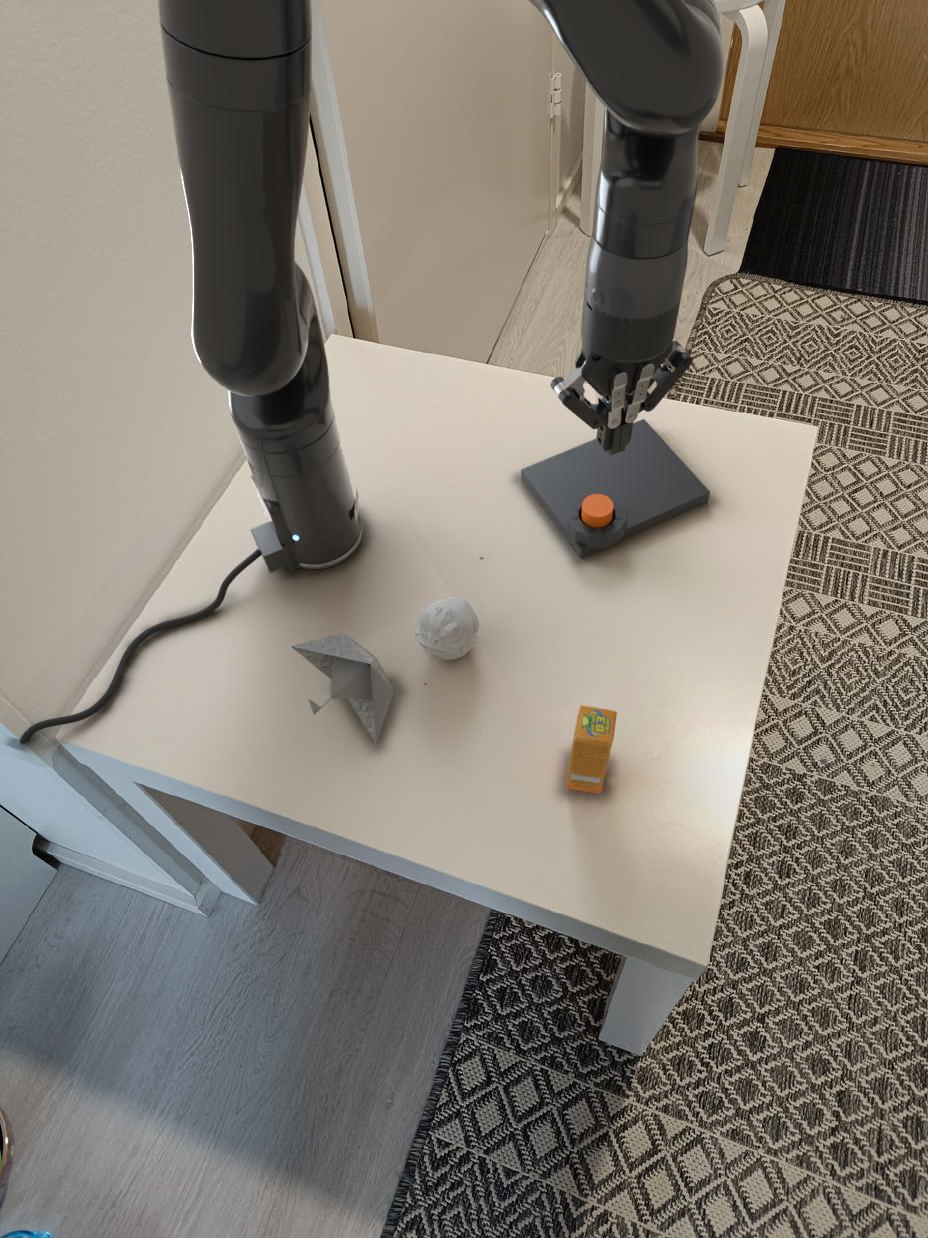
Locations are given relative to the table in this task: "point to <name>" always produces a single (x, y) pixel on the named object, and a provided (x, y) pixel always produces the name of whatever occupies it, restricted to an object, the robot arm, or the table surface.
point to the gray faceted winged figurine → (351, 678)
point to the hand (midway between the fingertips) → (612, 447)
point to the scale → (614, 488)
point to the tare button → (597, 510)
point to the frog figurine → (447, 628)
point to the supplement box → (591, 749)
